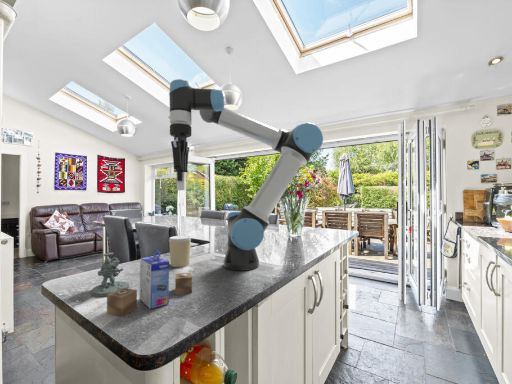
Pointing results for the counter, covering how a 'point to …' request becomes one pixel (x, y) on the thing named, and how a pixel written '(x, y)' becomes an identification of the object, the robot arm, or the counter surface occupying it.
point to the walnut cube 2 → (183, 283)
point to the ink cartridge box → (154, 281)
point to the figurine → (110, 272)
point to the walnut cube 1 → (121, 302)
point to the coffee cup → (180, 250)
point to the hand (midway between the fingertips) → (181, 190)
